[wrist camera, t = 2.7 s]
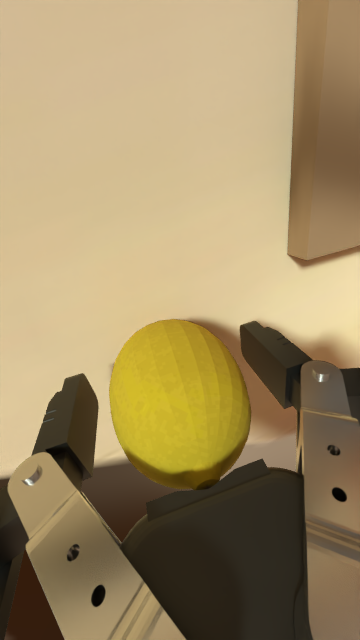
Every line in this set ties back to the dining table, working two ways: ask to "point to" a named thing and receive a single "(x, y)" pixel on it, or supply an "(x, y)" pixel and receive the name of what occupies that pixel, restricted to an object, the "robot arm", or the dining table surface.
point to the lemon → (179, 405)
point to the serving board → (326, 130)
